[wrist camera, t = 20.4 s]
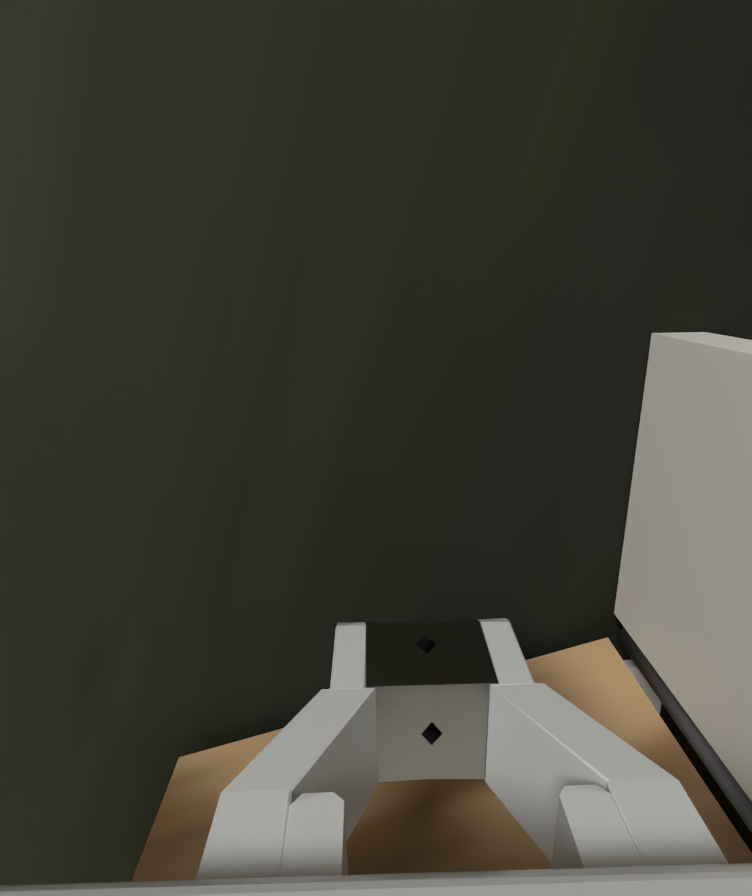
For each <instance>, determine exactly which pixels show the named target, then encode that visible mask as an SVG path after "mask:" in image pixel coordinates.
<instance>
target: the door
mask: <svg viewBox="0 0 752 896" xmlns="http://www.w3.org/2000/svg"><path fill="white" fill-rule="evenodd" d="M526 663H527V665H528V668H529V670H530V673H531V675H532V678H533V680H534V683H544V684H546V685H547V686H548V687H550V688H551V689H553V690H554V691H555V692H557V693H558V694H559V695H561V696H562V697H564V698H565V699H566V700H568V701H569V702H571V703H572V704H573V705H575V706H576V707H578V708H579V709H580V710H582V711H583V712H584V713H586V714H587V715H589V716H590V717H591V718H593V719H594V720H596V721H597V722H598V723H600V724H601V725H603V726H604V727H605V728H607V729H608V730H609V731H611V732H612V733H614V734H615V735H616V736H618V737H619V738H621V739H622V740H623V741H625V742H626V743H628V744H629V745H630V746H632V747H633V748H634V749H636V750H637V751H639V752H640V753H641V754H643V755H644V756H646V757H647V758H648V759H650V760H651V761H653V762H654V763H655V764H657V765H658V766H659V767H661V768H662V769H664V770H665V771H666V772H668V773H669V774H671V775H672V776H673V777H675V778H676V779H678V780H679V782H680V783H681V785H682V787H683V788H684V790H685V792H686V793H687V795H688V797H689V798H690V800H691V802H692V803H693V805H694V807H695V808H696V810H697V812H698V813H699V815H700V817H701V818H702V820H703V822H704V823H705V825H706V827H707V828H708V830H709V831H710V833H711V835H712V836H713V838H714V840H715V841H716V843H717V845H718V846H719V848H720V850H721V851H722V853H723V855H724V856H725V858H726V860H727V861H728V863H729V864H733V863H752V853H751V852H750V850H749V849H748V847H747V846H746V844H745V843H744V841H743V840H742V838H741V837H740V835H739V834H738V832H737V831H736V829H735V828H734V826H733V825H732V823H731V822H730V820H729V819H728V817H727V816H726V814H725V813H724V811H723V810H722V808H721V807H720V805H719V804H718V802H717V801H716V799H715V798H714V796H713V795H712V793H711V792H710V790H709V789H708V787H707V786H706V784H705V783H704V781H703V780H702V778H701V777H700V775H699V774H698V772H697V771H696V769H695V768H694V766H693V765H692V763H691V762H690V760H689V759H688V757H687V756H686V754H685V753H684V751H683V750H682V748H681V747H680V745H679V744H678V742H677V741H676V739H675V738H674V736H673V735H672V733H671V732H670V730H669V729H668V727H667V726H666V724H665V723H664V721H663V720H662V718H661V717H660V715H659V714H658V712H657V711H656V709H655V708H654V706H653V705H652V703H651V702H650V700H649V699H648V697H647V696H646V694H645V693H644V691H643V690H642V688H641V687H640V685H639V684H638V682H637V681H636V679H635V678H634V676H633V675H632V673H631V672H630V670H629V669H628V667H627V666H626V664H625V663H624V661H623V660H622V658H621V657H620V655H619V654H618V652H617V651H616V649H615V648H614V646H613V645H612V643H611V642H610V640H609V639H608V637H607V638H604V639H600V640H596V641H593V642H589V643H586V644H582V645H579V646H575V647H571V648H568V649H564V650H561V651H557V652H554V653H550V654H546V655H543V656H539V657H536V658H532V659H529V660H526ZM282 729H283V728H282ZM282 729H279V730H275V731H272V732H268V733H265V734H261V735H257V736H254V737H250V738H247V739H243V740H240V741H236V742H232V743H229V744H225V745H222V746H218V747H215V748H211V749H207V750H204V751H200V752H197V753H193V754H190V755H186V756H182V757H179V759H178V761H177V764H176V767H175V769H174V772H173V774H172V777H171V780H170V782H169V785H168V787H167V790H166V793H165V795H164V798H163V801H162V803H161V806H160V808H159V811H158V814H157V816H156V819H155V821H154V824H153V827H152V829H151V832H150V834H149V837H148V840H147V842H146V845H145V847H144V850H143V853H142V855H141V858H140V861H139V863H138V866H137V868H136V871H135V874H134V876H133V879H132V881H167V880H196V877H197V874H198V870H199V867H200V863H201V860H202V856H203V853H204V849H205V846H206V842H207V839H208V835H209V832H210V828H211V825H212V822H213V818H214V815H215V811H216V808H217V804H218V801H219V797H220V794H221V792H222V791H223V790H224V789H225V788H226V787H227V786H228V785H229V784H230V783H231V782H232V781H233V779H234V778H235V777H236V776H237V775H238V774H239V773H240V772H241V771H242V770H243V769H244V768H245V767H246V766H247V765H248V764H249V763H250V762H251V761H252V760H253V759H254V758H255V757H256V756H257V755H258V754H259V753H260V752H261V751H262V750H263V749H264V748H265V747H266V746H267V745H268V744H269V743H270V742H271V741H272V740H273V738H274V737H275V736H276V735H277V734H278V733H279V732H280V731H281V730H282ZM346 844H347V863H348V875H362V874H394V873H428V872H462V871H496V870H530V869H551V862H550V860H549V859H548V858H547V857H546V855H545V854H544V853H543V852H542V851H541V849H540V848H539V847H538V846H537V844H536V843H535V842H534V841H533V840H532V838H531V837H530V836H529V835H528V833H527V832H526V831H525V830H524V829H523V827H522V826H521V825H520V824H519V822H518V821H517V820H516V819H515V818H514V816H513V815H512V814H511V813H510V812H509V810H508V809H507V808H506V807H505V805H504V804H503V803H502V802H501V801H500V799H499V798H498V797H497V796H496V794H495V793H494V792H493V791H492V790H491V788H490V787H489V786H488V785H487V783H486V782H485V779H421V780H404V781H387V782H378V787H377V789H376V791H375V792H374V794H373V796H372V798H371V799H370V801H369V803H368V805H367V806H366V808H365V810H364V812H363V813H362V815H361V817H360V819H359V821H358V822H357V824H356V826H355V828H354V829H353V831H352V833H351V835H350V836H349V838H348V840H347V842H346ZM132 881H131V882H132Z"/></svg>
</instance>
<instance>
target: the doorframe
mask: <svg viewBox="0 0 752 896" xmlns="http://www.w3.org/2000/svg"><path fill="white" fill-rule="evenodd" d="M614 614H615V615H616V617H617V618H618V620H619V621H620V622H621V624H622V625H623V626H624V627H623V628H622V629H621V630H620V632H619V635H618V639H619V642H620V643H621V645H622V646H623V648H624V649H625V650H626V652H627V653H628V655H629V656H630V658H631V659H632V660H623V661H624V663H625V664H626V666H627V667H628V669H629V670H630V672H631V673H632V675H633V676H634V678H635V679H636V681H637V682H638V684H639V685H640V687H641V688H642V690H643V691H644V693H645V694H646V696H647V697H648V699H649V700H650V702H651V703H652V705H653V706H654V708H655V709H656V711H657V712H658V714H659V715H660V709H661V703H662V704H663V706H664V707H665V708H666V710H667V711H668V713H669V714H670V716H671V717H672V719H673V720H674V721H675V723H676V724H677V726H678V727H679V729H680V730H681V732H682V733H683V735H684V736H685V737H686V739H687V740H688V742H689V743H690V745H691V746H692V748H693V749H694V750H695V752H696V753H697V755H698V756H699V758H700V759H701V761H702V762H703V763H704V765H705V766H706V768H707V769H708V771H709V772H710V774H711V775H712V777H713V778H714V779H715V781H716V782H717V784H718V785H719V787H720V788H721V790H722V791H723V792H724V794H725V795H726V797H727V798H728V800H729V801H730V803H731V804H732V806H733V807H734V808H735V810H736V811H737V813H738V814H739V816H740V817H741V819H742V820H743V821H744V823H745V824H746V826H747V827H748V829H749V830H750V832H751V833H752V340H748V339H742V338H736V337H730V336H725V335H719V334H713V333H707V332H685V333H652V335H651V342H650V349H649V357H648V364H647V372H646V379H645V387H644V394H643V402H642V409H641V416H640V424H639V431H638V439H637V446H636V454H635V461H634V468H633V476H632V483H631V491H630V498H629V506H628V513H627V521H626V528H625V535H624V543H623V550H622V558H621V565H620V573H619V580H618V587H617V595H616V602H615V610H614Z"/></svg>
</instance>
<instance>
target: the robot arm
mask: <svg viewBox="0 0 752 896" xmlns="http://www.w3.org/2000/svg"><path fill="white" fill-rule="evenodd" d="M421 779H485V782H486V783H487V785H488V786H489V787H490V788H491V790H492V791H493V792H494V793H495V794H496V796H497V797H498V798H499V799H500V801H501V802H502V803H503V804H504V805H505V807H506V808H507V809H508V810H509V812H510V813H511V814H512V815H513V816H514V818H515V819H516V820H517V821H518V822H519V824H520V825H521V826H522V827H523V829H524V830H525V831H526V832H527V833H528V835H529V836H530V837H531V838H532V840H533V841H534V842H535V843H536V844H537V846H538V847H539V848H540V849H541V851H542V852H543V853H544V854H545V855H546V857H547V858H548V859H549V860H550V862H551V869H530V870H496V871H462V872H428V873H394V874H362V875H348V863H347V844H346V842H347V840H348V838H349V836H350V835H351V833H352V831H353V829H354V828H355V826H356V824H357V822H358V821H359V819H360V817H361V815H362V813H363V812H364V810H365V808H366V806H367V805H368V803H369V801H370V799H371V798H372V796H373V794H374V792H375V791H376V789H377V787H378V782H387V781H404V780H421ZM0 896H752V863H733V864H729V863H728V861H727V860H726V858H725V856H724V855H723V853H722V851H721V850H720V848H719V846H718V845H717V843H716V841H715V840H714V838H713V836H712V835H711V833H710V831H709V830H708V828H707V827H706V825H705V823H704V822H703V820H702V818H701V817H700V815H699V813H698V812H697V810H696V808H695V807H694V805H693V803H692V802H691V800H690V798H689V797H688V795H687V793H686V792H685V790H684V788H683V787H682V785H681V783H680V782H679V780H678V779H676V778H675V777H673V776H672V775H671V774H669V773H668V772H666V771H665V770H664V769H662V768H661V767H659V766H658V765H657V764H655V763H654V762H653V761H651V760H650V759H648V758H647V757H646V756H644V755H643V754H641V753H640V752H639V751H637V750H636V749H634V748H633V747H632V746H630V745H629V744H628V743H626V742H625V741H623V740H622V739H621V738H619V737H618V736H616V735H615V734H614V733H612V732H611V731H609V730H608V729H607V728H605V727H604V726H603V725H601V724H600V723H598V722H597V721H596V720H594V719H593V718H591V717H590V716H589V715H587V714H586V713H584V712H583V711H582V710H580V709H579V708H578V707H576V706H575V705H573V704H572V703H571V702H569V701H568V700H566V699H565V698H564V697H562V696H561V695H559V694H558V693H557V692H555V691H554V690H553V689H551V688H550V687H548V686H547V685H546V684H544V683H534V680H533V678H532V675H531V673H530V670H529V668H528V665H527V663H526V660H525V658H524V655H523V653H522V651H521V648H520V646H519V643H518V641H517V638H516V636H515V633H514V631H513V628H512V626H511V623H510V621H509V620H508V619H506V618H496V619H479V620H477V621H449V622H367V627H366V623H365V622H356V623H338V624H337V626H336V631H335V642H334V652H333V663H332V674H331V685H330V689H322V690H320V691H319V692H318V693H317V694H316V695H315V696H314V697H313V699H312V700H311V701H310V702H309V703H308V704H307V705H306V706H305V707H304V708H303V709H302V710H301V711H300V712H299V713H298V714H297V715H296V716H295V717H294V718H293V719H292V720H291V721H290V722H289V723H288V724H287V725H286V726H285V727H284V728H283V729H282V730H281V731H280V732H279V733H278V734H277V735H276V736H275V737H274V738H273V740H272V741H271V742H270V743H269V744H268V745H267V746H266V747H265V748H264V749H263V750H262V751H261V752H260V753H259V754H258V755H257V756H256V757H255V758H254V759H253V760H252V761H251V762H250V763H249V764H248V765H247V766H246V767H245V768H244V769H243V770H242V771H241V772H240V773H239V774H238V775H237V776H236V777H235V778H234V779H233V781H232V782H231V783H230V784H229V785H228V786H227V787H226V788H225V789H224V790H223V791H222V792H221V794H220V797H219V801H218V804H217V808H216V811H215V815H214V818H213V822H212V825H211V828H210V832H209V835H208V839H207V842H206V846H205V849H204V853H203V856H202V860H201V863H200V867H199V870H198V874H197V877H196V880H167V881H132V882H97V883H62V884H29V885H0Z"/></svg>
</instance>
